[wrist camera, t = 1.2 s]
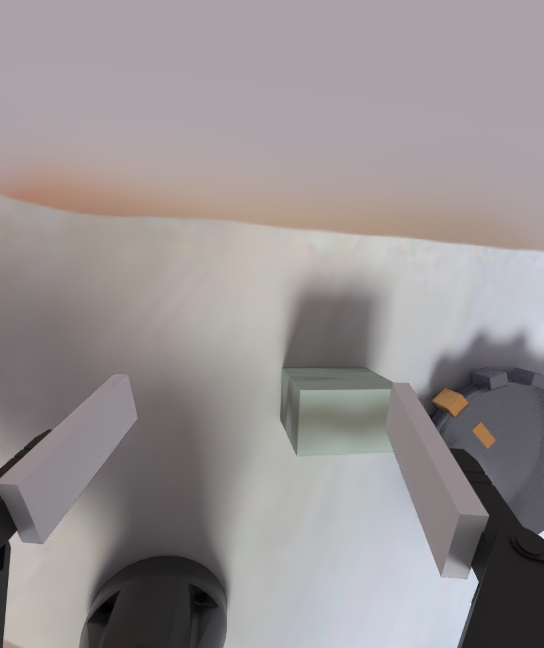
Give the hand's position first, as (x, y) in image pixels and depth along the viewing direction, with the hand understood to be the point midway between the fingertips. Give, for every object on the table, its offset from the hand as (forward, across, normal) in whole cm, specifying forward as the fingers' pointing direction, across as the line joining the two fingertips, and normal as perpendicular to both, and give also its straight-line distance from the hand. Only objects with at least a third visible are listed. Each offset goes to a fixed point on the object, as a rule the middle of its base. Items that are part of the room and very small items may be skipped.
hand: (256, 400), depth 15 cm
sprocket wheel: (+20, -26, +21) cm, 39 cm away
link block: (+18, -5, +11) cm, 22 cm away
